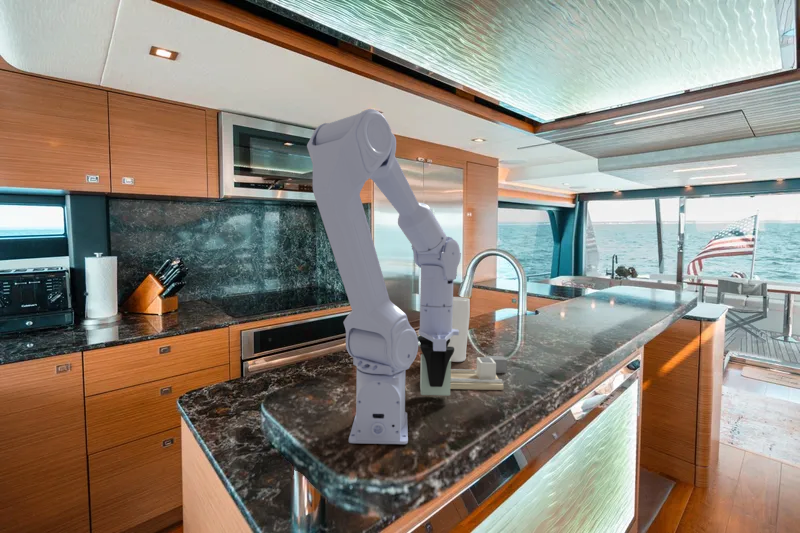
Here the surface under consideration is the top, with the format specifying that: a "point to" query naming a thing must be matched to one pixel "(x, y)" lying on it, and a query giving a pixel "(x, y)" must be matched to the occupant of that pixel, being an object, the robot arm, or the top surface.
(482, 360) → the mounted modules
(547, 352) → the top surface
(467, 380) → the din rail
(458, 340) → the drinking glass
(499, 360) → the block
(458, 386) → the rail panel
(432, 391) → the box
